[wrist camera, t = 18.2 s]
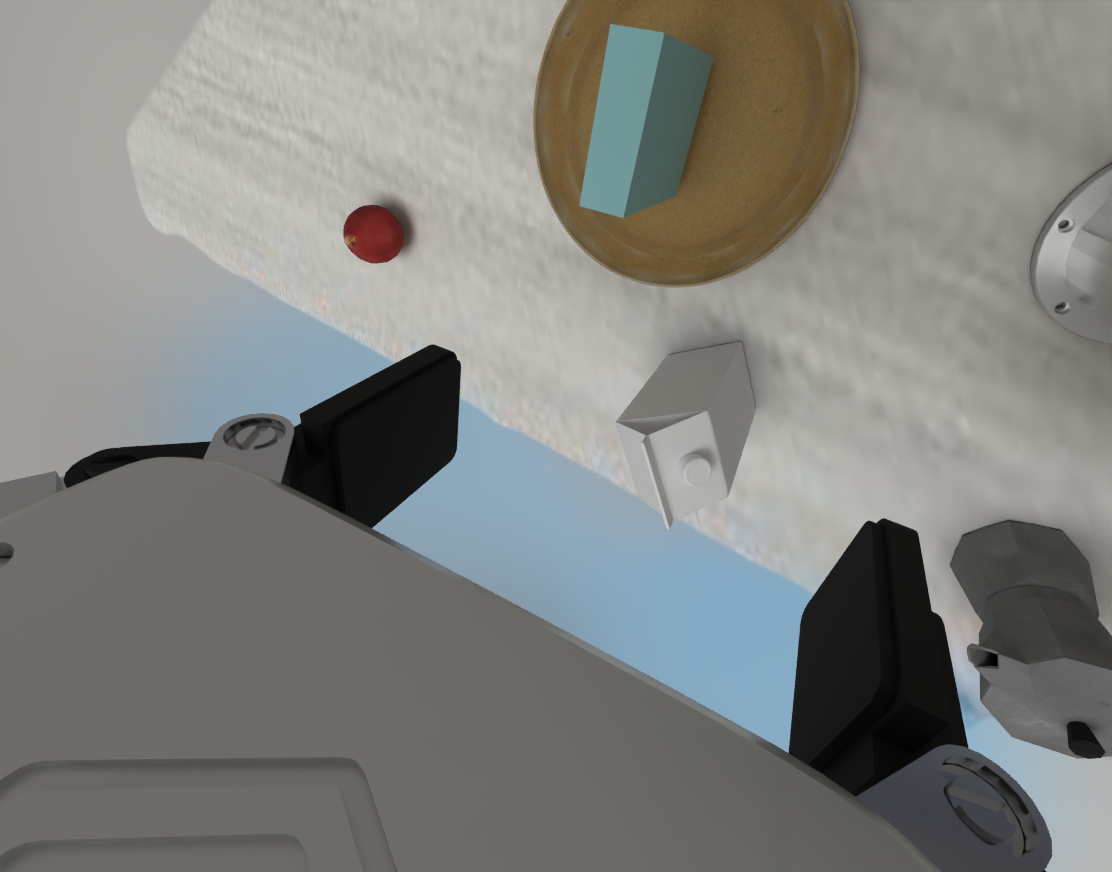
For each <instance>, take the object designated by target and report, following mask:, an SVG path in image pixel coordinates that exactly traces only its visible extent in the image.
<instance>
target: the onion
mask: <svg viewBox="0 0 1112 872" xmlns="http://www.w3.org/2000/svg"><path fill="white" fill-rule="evenodd" d="M344 242H345V244H346V245H347V246H348V248H349V249H350V251H351V252H352V253H354V254H355V255H356V256H357V257H358V258H360V259H362V260H364V261H367V262H369V263H384V262H388V261H390V260H392V259H393V258H394V257H396V256H397V255H398V253H399V252H400V250H401V248H402V246H403V232H402V228H401V226H400V224H399V222H398V220H397V219H396V217H395V216H394V215H393V214H392V213H391V212H390V211H388V210H387V209H385V208H383V207H380V206H377V205H367V206H362V207H359V208H358V209H356V210H355V211H353V212H352V213H351V214H350V215H349V216H348V218H347V220H346V222H345V225H344Z"/></svg>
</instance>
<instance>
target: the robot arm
mask: <svg viewBox="0 0 1112 872" xmlns="http://www.w3.org/2000/svg"><path fill="white" fill-rule="evenodd" d="M1063 220H1067V224H1066V225H1065V226H1064V227H1062V228H1059V227H1058V225H1059V223H1060V222H1061V221H1063ZM1031 283H1032V287H1033V291H1034V295H1035V297H1036V299H1037V300H1038V302H1039V304H1040V306H1041V307H1042V309H1043V310H1044V311H1045V312H1046V313H1047V314H1048V315H1049V316H1050V318H1051V319H1053V320H1054V321H1055V322H1056V323H1058V324H1059V325H1060V326H1062V327H1063V328H1064V329H1066V330H1068V331H1070V332H1072V333H1074V334H1076V335H1078V336H1080V337H1082V338H1086V339H1090V340H1093V341H1097V342H1101V343H1106V344H1112V164H1111V165H1109V166H1107V167H1106V168H1104V169H1102V170H1101V171H1099V172H1098V173H1096V174H1095V175H1094V176H1092V177H1091V178H1090V179H1089V180H1087V181H1086V182H1085V183H1083V184H1082V185H1081V186H1079V187H1078V188H1077V189H1076V190H1075V191H1074V192H1073V193H1072V194H1071V195H1070V196H1069V197H1068V198H1067V199H1066V200H1065V201H1064V202H1063V203H1062V204H1061V205H1060V206H1059V207H1058V208H1057V210H1056V211H1055V213H1054V214H1053V215H1052V217H1051V218H1050V219H1049V221H1048V222H1047V223H1046V225H1045V226H1044V228H1043V230H1042V233H1041V235H1040V237H1039V239H1038V241H1037V243H1036V245H1035V249H1034V253H1033V256H1032V260H1031ZM1061 302H1063V303H1064V304H1063V306H1062V307H1060V308H1055V306H1056V305H1057V304H1059V303H1061ZM460 376H461V364H460V361H459V360H457V357H456V354H455V353H454V352H452V351H450V350H447V349H444V348H442V347H439V346H437V345H433V344H432V345H429V346H427V347H425V348H423V349H421V350H420V351H418V352H416V353H414V354H412V355H410V356H408V357H406V358H404V359H403V360H401V361H399V362H397V363H395V364H393V365H391V366H390V367H387V368H386V369H384V370H382V371H380V372H378V373H376V374H374V375H372V376H370V377H369V378H367V379H365V380H363V381H361V382H359V383H357V384H356V385H353V386H352V387H350V388H348V389H346V390H344V391H342V392H340V393H338V394H336V395H335V396H333V397H331V398H329V399H327V400H325V401H323V402H321V403H319V404H318V405H316V406H314V407H312V408H310V409H308V410H306V411H305V412H303V413H301V414H300V418H301V424H299V425H297V426H295V427H294V426H293V424H292V423H291V422H290V421H289V420H288V419H286V418H284V417H282V416H278V415H275V414H263V413H261V414H250V415H246V416H241V417H238V418H235V419H233V420H231V421H228V422H227V423H225V424H224V425H222V426H221V427H220V428H219V429H218V430H217V432H216V433H215V434H214V437H213V439H212V441H211V442H197V443H180V444H165V445H149V446H134V447H121V448H110V449H105V450H101V451H99V452H96V453H94V454H92V455H90V456H88V457H85V458H83V459H82V460H80V461H79V462H77V463H76V464H74V465H72V467H71V468H70V469H69V470H68V471H67V472H66V474H65V477H60V478H59V476H58V474H57V472H56V471H54V472H50V473H45V474H40V475H36V476H31V477H26V478H21V479H17V480H12V481H8V482H3V483H0V872H1046V871H1045V870H1044V869H1045V868H1046V867H1047V865H1048V863H1049V861H1050V859H1051V857H1052V842H1051V841H1052V840H1051V837H1050V834H1049V831H1048V828H1047V826H1046V823H1045V820H1044V818H1043V817H1042V815H1041V814H1040V812H1039V810H1038V809H1037V807H1036V805H1035V804H1034V802H1033V801H1032V799H1031V798H1030V797H1029V796H1028V795H1027V793H1026V792H1025V791H1024V790H1023V789H1022V787H1021V786H1020V785H1019V784H1018V783H1017V781H1015V780H1014V779H1013V778H1012V777H1011V776H1010V775H1009V774H1008V773H1007V772H1005V771H1004V770H1003V769H1002V768H1001V767H1000V766H998V765H997V764H995V763H994V762H992V761H991V760H989V759H988V758H986V757H985V756H983V755H982V754H980V753H978V752H975V751H973V750H971V749H968V744H967V738H966V733H965V728H964V723H963V718H962V713H961V708H960V703H959V698H958V693H957V688H956V682H955V677H954V672H953V667H952V662H951V657H950V652H949V647H948V642H947V637H946V632H945V626H944V623H943V621H942V618H941V617H940V616H939V615H938V614H936V613H934V612H932V610H931V604H930V599H929V593H928V587H927V582H926V576H925V570H924V565H923V559H922V553H921V548H920V542H919V536H918V533H917V531H915V530H913V529H910V528H908V527H905V526H903V525H900V524H898V523H895V522H892V521H890V520H887V519H885V518H884V519H881V520H879V521H878V522H877V523H874V522H872V521H867V522H866V523H865V524H864V525H863V526H862V528H861V529H860V531H859V532H858V533H857V535H856V536H855V538H854V539H853V541H852V542H851V543H850V545H849V546H848V548H847V549H846V550H845V552H844V553H843V555H842V556H841V558H840V559H839V560H838V562H837V563H836V565H835V566H834V567H833V569H832V570H831V572H830V573H829V575H828V576H827V577H826V579H825V580H824V582H823V583H822V584H821V586H820V587H819V589H818V590H817V592H816V593H815V594H814V596H813V597H812V599H811V600H810V601H809V603H808V604H807V606H806V608H805V610H804V612H803V615H802V618H801V624H800V635H799V647H798V657H797V668H796V679H795V690H794V701H793V712H792V723H791V734H790V745H789V753H787V752H785V751H784V750H782V749H780V748H779V747H777V746H775V745H774V744H772V743H770V742H768V741H767V740H765V739H763V738H761V737H759V736H758V735H756V734H754V733H752V732H750V731H749V730H747V729H745V728H743V727H741V726H740V725H738V724H736V723H734V722H732V721H730V720H729V719H727V718H725V717H723V716H722V715H720V714H718V713H716V712H714V711H713V710H711V709H709V708H707V707H705V706H704V705H702V704H700V703H698V702H696V701H695V700H693V699H691V698H689V697H687V696H686V695H684V694H681V693H680V692H678V691H676V690H674V689H673V688H671V687H669V686H667V685H665V684H663V683H661V682H660V681H658V680H656V679H654V678H652V677H650V676H648V675H647V674H645V673H643V672H641V671H639V670H637V669H635V668H634V667H632V666H630V665H628V664H626V663H624V662H622V661H621V660H619V659H617V658H615V657H613V656H611V655H609V654H607V653H605V652H604V651H602V650H600V649H598V648H596V647H594V646H593V645H591V644H589V643H587V642H585V641H583V640H581V639H580V638H578V637H576V636H574V635H572V634H570V633H568V632H566V631H565V630H563V629H561V628H559V627H557V626H555V625H553V624H552V623H549V622H548V621H546V620H544V619H542V618H540V617H538V616H536V615H535V614H532V613H531V612H529V611H527V610H525V609H523V608H521V607H520V606H518V605H516V604H514V603H512V602H510V601H508V600H506V599H505V598H503V597H501V596H499V595H497V594H495V593H493V592H491V591H489V590H488V589H486V588H484V587H482V586H480V585H478V584H476V583H474V582H472V581H470V580H469V579H467V578H465V577H463V576H461V575H459V574H457V573H455V572H453V571H452V570H450V569H448V568H446V567H444V566H442V565H440V564H438V563H436V562H434V561H433V560H431V559H429V558H427V557H425V556H423V555H421V554H419V553H417V552H415V551H414V550H411V549H410V548H408V547H406V546H404V545H402V544H400V543H398V542H396V541H394V540H392V539H391V538H389V537H387V536H385V535H383V534H381V533H379V532H377V531H375V530H373V529H372V528H373V527H374V526H375V525H376V524H377V523H378V522H380V521H381V520H382V519H383V518H384V517H386V516H387V515H388V514H389V513H390V512H391V511H393V510H394V509H395V508H396V507H397V506H399V505H400V504H401V503H402V502H403V501H404V500H406V499H407V498H408V497H409V496H410V495H411V494H413V493H414V492H415V491H416V490H417V489H419V488H420V487H421V486H422V485H423V484H424V483H426V482H427V481H428V480H429V479H430V478H431V477H433V476H434V475H435V474H436V473H437V472H438V471H440V470H441V469H442V468H443V467H444V466H446V465H447V464H448V463H449V462H450V461H451V460H452V459H453V457H454V455H455V453H456V450H457V435H458V415H459V396H460Z"/></svg>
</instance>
